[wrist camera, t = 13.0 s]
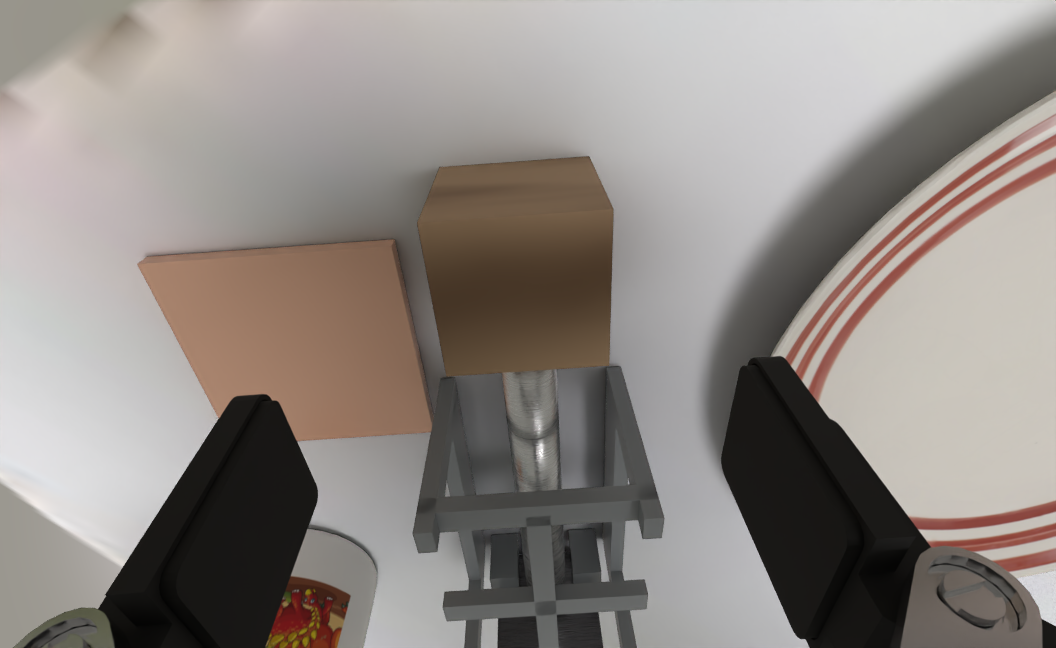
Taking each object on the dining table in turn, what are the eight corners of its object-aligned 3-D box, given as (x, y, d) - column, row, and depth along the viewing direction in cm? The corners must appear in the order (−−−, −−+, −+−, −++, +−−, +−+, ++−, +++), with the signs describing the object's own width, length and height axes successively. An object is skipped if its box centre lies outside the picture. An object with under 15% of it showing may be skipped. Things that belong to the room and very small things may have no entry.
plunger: (589, 563, 29) (605, 682, 24) (501, 568, 29) (499, 688, 24) (590, 292, 20) (616, 396, 15) (459, 301, 20) (441, 408, 15)
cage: (613, 538, 29) (642, 693, 22) (474, 547, 29) (463, 704, 22) (620, 366, 22) (664, 517, 16) (440, 378, 22) (412, 533, 16)
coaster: (435, 422, 23) (433, 432, 23) (238, 435, 24) (233, 445, 23) (394, 239, 19) (391, 246, 18) (147, 256, 19) (137, 264, 18)
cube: (588, 286, 20) (609, 365, 16) (459, 295, 20) (446, 376, 16) (589, 155, 17) (613, 209, 13) (439, 166, 17) (417, 223, 13)
